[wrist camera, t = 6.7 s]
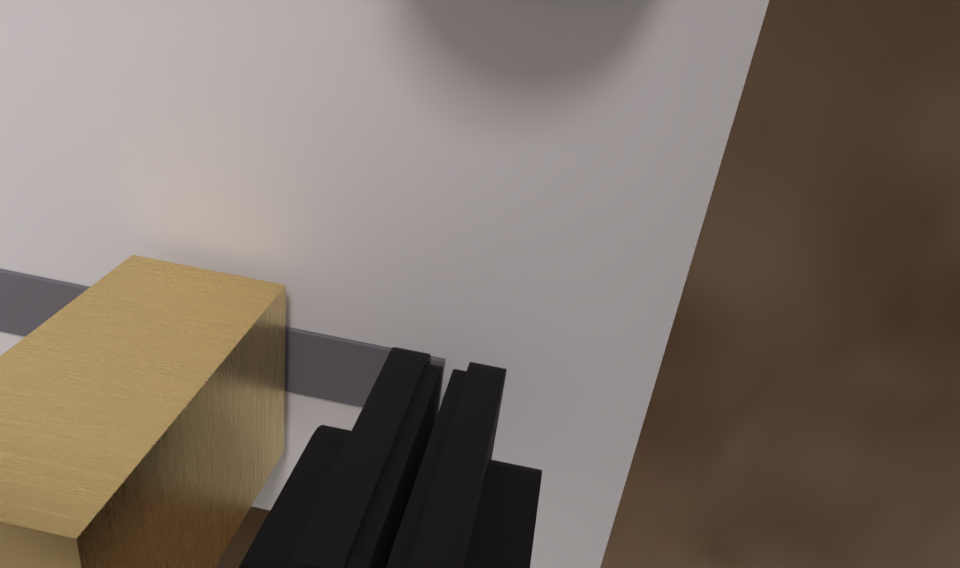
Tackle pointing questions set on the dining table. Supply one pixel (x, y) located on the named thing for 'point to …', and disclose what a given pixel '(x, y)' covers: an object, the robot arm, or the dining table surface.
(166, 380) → the brass slider
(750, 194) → the dining table surface
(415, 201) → the console
